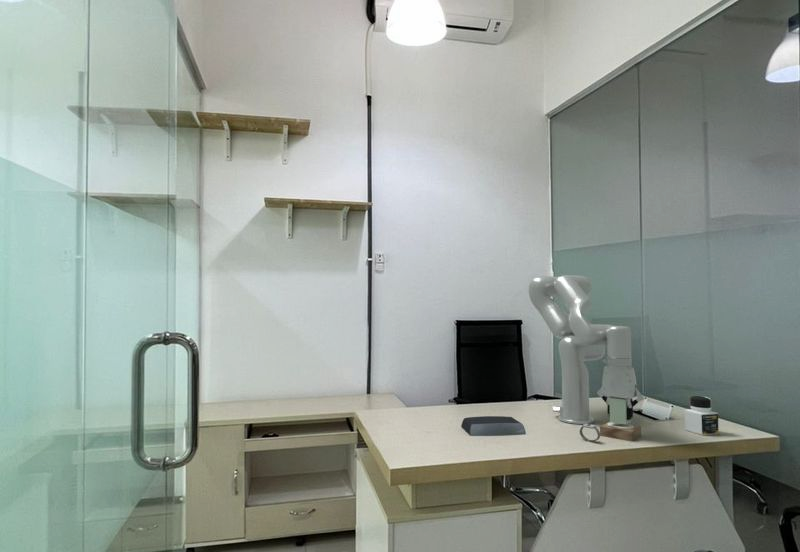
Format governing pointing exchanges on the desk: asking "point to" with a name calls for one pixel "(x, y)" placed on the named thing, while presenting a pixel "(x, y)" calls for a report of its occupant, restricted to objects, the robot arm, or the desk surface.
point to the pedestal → (620, 431)
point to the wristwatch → (591, 428)
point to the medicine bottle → (701, 417)
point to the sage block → (618, 410)
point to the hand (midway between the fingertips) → (620, 417)
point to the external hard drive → (492, 426)
